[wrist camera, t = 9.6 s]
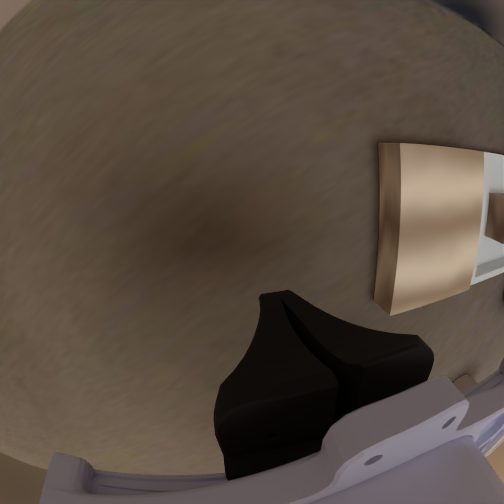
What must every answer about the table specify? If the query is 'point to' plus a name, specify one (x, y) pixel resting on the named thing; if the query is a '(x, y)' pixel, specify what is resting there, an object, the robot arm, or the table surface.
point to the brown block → (495, 217)
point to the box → (488, 251)
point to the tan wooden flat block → (426, 223)
